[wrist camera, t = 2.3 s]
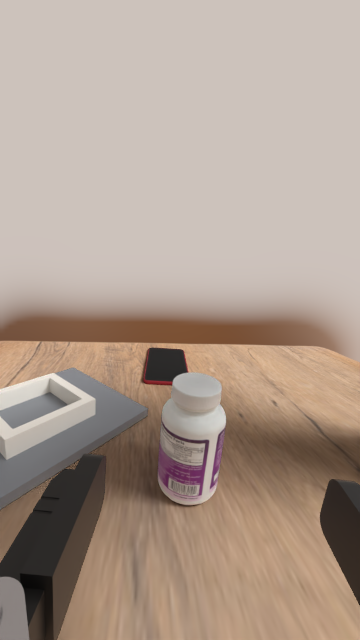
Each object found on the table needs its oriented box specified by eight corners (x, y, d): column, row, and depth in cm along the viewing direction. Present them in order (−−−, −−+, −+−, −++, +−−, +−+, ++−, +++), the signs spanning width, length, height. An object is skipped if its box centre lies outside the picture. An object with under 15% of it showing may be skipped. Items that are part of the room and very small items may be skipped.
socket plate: (73, 373, 40) (73, 355, 40) (147, 415, 32) (148, 393, 31) (-104, 432, 25) (-110, 405, 25) (-58, 546, 16) (-64, 509, 16)
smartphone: (183, 349, 54) (190, 383, 40) (183, 353, 54) (190, 388, 40) (148, 347, 54) (142, 380, 39) (148, 351, 54) (142, 386, 39)
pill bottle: (189, 449, 27) (199, 363, 24) (228, 487, 23) (245, 388, 20) (144, 473, 23) (151, 376, 21) (181, 522, 19) (194, 408, 17)
